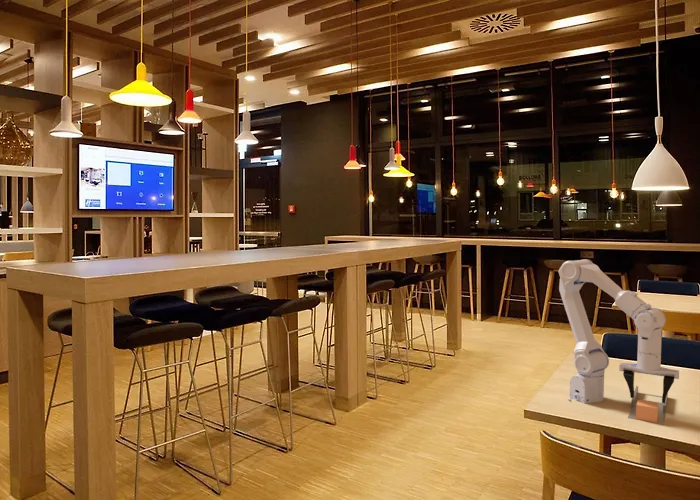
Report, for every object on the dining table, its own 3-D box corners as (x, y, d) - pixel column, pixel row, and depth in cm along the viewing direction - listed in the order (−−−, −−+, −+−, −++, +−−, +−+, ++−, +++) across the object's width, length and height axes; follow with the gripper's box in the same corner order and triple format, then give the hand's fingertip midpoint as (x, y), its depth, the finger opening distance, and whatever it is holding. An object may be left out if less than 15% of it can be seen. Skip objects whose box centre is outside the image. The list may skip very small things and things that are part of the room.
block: (656, 422, 141) (657, 408, 141) (635, 418, 144) (636, 404, 144) (657, 416, 146) (658, 402, 145) (637, 413, 148) (638, 399, 148)
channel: (663, 428, 140) (664, 417, 140) (627, 421, 145) (627, 410, 145) (667, 400, 161) (667, 390, 161) (635, 395, 166) (636, 386, 166)
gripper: (680, 352, 145) (678, 399, 146) (621, 345, 153) (620, 390, 154) (679, 358, 139) (677, 407, 140) (618, 350, 147) (617, 397, 148)
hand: (647, 399), depth 147 cm, fingers open, 7 cm apart
